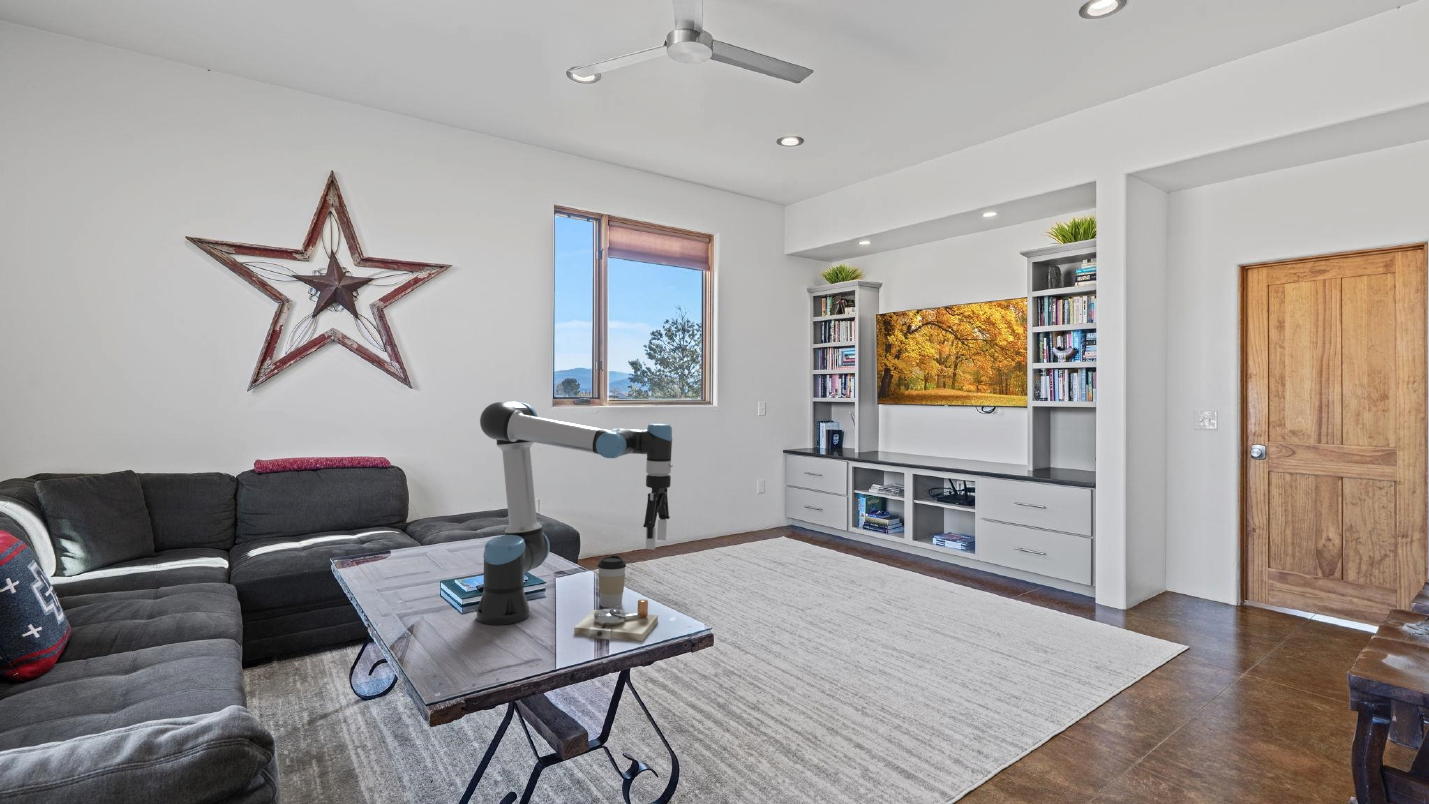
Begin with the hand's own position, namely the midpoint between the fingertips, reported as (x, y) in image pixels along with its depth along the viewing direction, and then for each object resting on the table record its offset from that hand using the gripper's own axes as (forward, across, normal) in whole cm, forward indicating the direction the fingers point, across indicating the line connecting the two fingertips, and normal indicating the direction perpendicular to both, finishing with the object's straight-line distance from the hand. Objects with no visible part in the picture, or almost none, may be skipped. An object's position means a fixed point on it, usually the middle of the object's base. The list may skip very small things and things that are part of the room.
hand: (656, 544), depth 210 cm
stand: (+22, -13, +7) cm, 27 cm away
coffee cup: (+22, +7, +16) cm, 29 cm away
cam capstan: (+20, -12, +6) cm, 24 cm away
